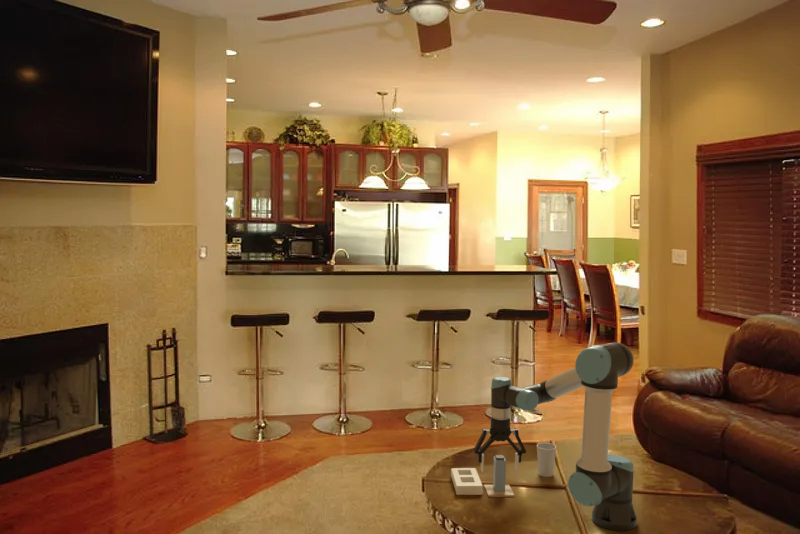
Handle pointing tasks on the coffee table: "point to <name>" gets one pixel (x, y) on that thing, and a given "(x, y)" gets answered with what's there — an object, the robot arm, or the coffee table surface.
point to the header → (466, 481)
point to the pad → (492, 493)
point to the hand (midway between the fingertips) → (499, 470)
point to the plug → (499, 473)
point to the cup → (546, 459)
